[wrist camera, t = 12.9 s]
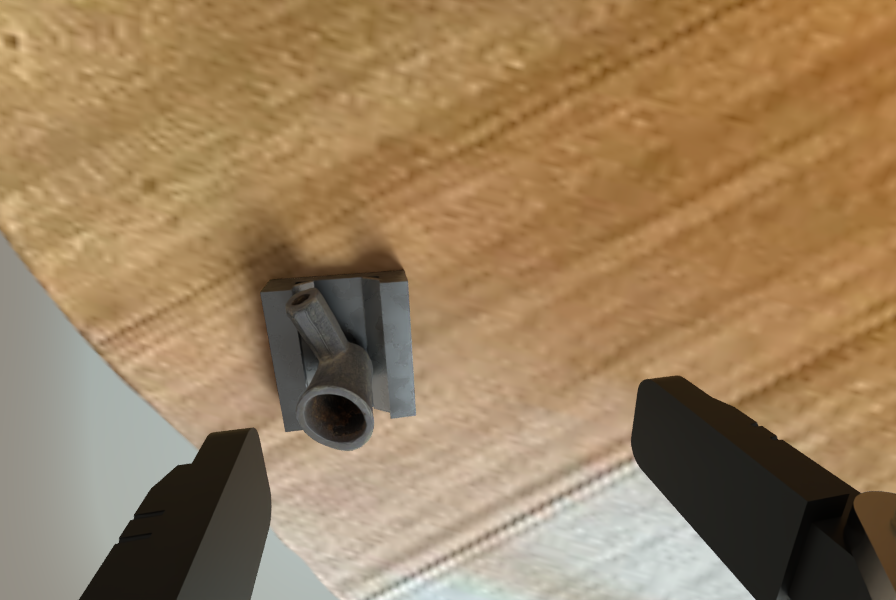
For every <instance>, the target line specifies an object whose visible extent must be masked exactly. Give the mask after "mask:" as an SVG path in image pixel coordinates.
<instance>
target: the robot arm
mask: <svg viewBox="0 0 896 600" xmlns="http://www.w3.org/2000/svg"><path fill="white" fill-rule="evenodd" d="M631 446H632V451H633V455H634V457H635V460H636V462H637V464H638V465H639V467H640V468H641V470H642V471H643V472H644V473H645V474H646V475H647V476H648V478H649V479H650V480H651V481H652V482H653V483H654V484H655V486H656V487H657V488H658V489H659V490H660V491H661V492H662V493H663V495H664V496H665V497H666V498H667V499H668V500H669V501H670V503H671V504H672V505H673V506H674V507H675V508H676V509H677V511H678V512H679V513H680V514H681V515H682V516H683V517H684V518H685V520H686V521H687V522H688V523H689V524H690V525H691V526H692V528H693V529H694V530H695V531H696V532H697V533H698V534H699V536H700V537H701V538H702V539H703V540H704V541H705V542H706V544H707V545H708V546H709V547H710V548H711V549H712V550H713V551H714V553H715V554H716V555H717V556H718V557H719V558H720V559H721V561H722V562H723V563H724V564H725V565H726V566H727V567H728V569H729V570H730V571H731V572H732V573H733V574H734V575H735V577H736V578H737V579H738V580H739V581H740V582H741V583H742V584H743V586H744V587H745V588H746V589H747V590H748V591H749V592H750V594H751V595H752V596H753V597H754V598H755V599H756V600H896V494H895V493H890V492H882V491H869V492H864V493H860V492H858V491H857V490H855V489H854V488H853V487H851V486H850V485H848V484H847V483H845V482H844V481H842V480H841V479H839V478H838V477H836V476H835V475H833V474H832V473H831V472H829V471H828V470H826V469H825V468H823V467H822V466H820V465H819V464H817V463H816V462H814V461H813V460H811V459H810V458H808V457H807V456H806V455H804V454H803V453H801V452H800V451H798V450H797V449H795V448H794V447H792V446H791V445H789V444H788V443H786V442H785V441H783V440H778V439H777V436H776V435H775V434H773V433H772V432H770V431H769V430H767V429H766V428H764V427H763V426H758V424H757V422H756V421H754V420H753V419H751V418H750V417H748V416H747V415H745V414H744V413H742V412H741V411H739V410H738V409H736V408H735V407H733V406H731V405H728V404H726V403H724V402H721V401H719V400H717V399H715V398H712V397H711V396H709V395H708V394H706V393H705V392H704V391H702V390H701V389H699V388H698V387H696V386H695V385H693V384H692V383H691V382H689V381H688V380H686V379H685V378H683V377H681V376H669V377H661V378H653V379H646V380H643V381H642V382H641V383H640V385H639V387H638V392H637V399H636V407H635V414H634V421H633V429H632V436H631ZM270 520H271V492H270V487H269V482H268V477H267V472H266V467H265V463H264V458H263V453H262V448H261V443H260V438H259V435H258V432H257V430H256V429H255V428H245V429H237V430H229V431H221V432H213V433H210V434H209V435H208V436H207V438H206V439H205V441H204V443H203V445H202V446H201V448H200V450H199V452H198V453H197V455H196V457H195V459H194V461H193V462H192V464H184V465H178V466H176V467H175V468H174V469H173V470H172V471H171V472H170V473H168V474H167V475H166V476H165V477H164V478H163V479H162V480H161V481H160V482H158V483H157V484H156V485H155V486H153V487H152V488H151V490H150V491H149V492H148V494H147V496H146V497H145V499H144V500H143V502H142V503H141V505H140V506H139V508H138V510H137V511H136V513H135V514H134V520H130V522H129V523H128V525H127V526H126V528H125V529H124V531H123V533H122V534H121V536H120V537H119V543H118V544H115V545H114V546H113V548H112V549H111V551H110V553H109V554H108V556H107V557H106V559H105V560H104V562H103V563H102V565H101V567H100V568H99V570H98V571H97V573H96V574H95V576H94V577H93V579H92V581H91V582H90V584H89V585H88V587H87V588H86V590H85V591H84V593H83V594H82V596H81V597H80V599H79V600H250V599H251V595H252V592H253V588H254V584H255V580H256V576H257V573H258V568H259V565H260V561H261V557H262V553H263V550H264V545H265V541H266V538H267V534H268V530H269V526H270Z"/></svg>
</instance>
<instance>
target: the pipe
mask: <svg viewBox="0 0 896 600" xmlns="http://www.w3.org/2000/svg"><path fill="white" fill-rule="evenodd" d="M286 313H287V315H288V317H289V318H290V320H291V321H292V322H293V324H294V326H295V327H296V329H297V330H298V332H299V333H300V335H301V336H302V338H303V339H304V340H305V342H306V343H307V344H308V346H309V347H310V348H311V350H312V352H313V353H314V354H315V356H316V357H317V359H318V360H319V365H318V368H317V370H316V372H315V374H314V376H313V378H312V380H311V382H310V384H309V386H308V388H307V390H306V391H305V392H304V394H303V395H302V396H301V397H300V399H299V401H298V403H297V406H296V417H297V420H298V422H299V424H300V426H301V427H302V429H303V430H304V432H305V433H306V434H307V435H308V436H310V437H311V438H312V439H314V440H315V441H317V442H318V443H321V444H323V445H325V446H328V447H331V448H334V449H337V450H344V451H353V450H355V449H358V448H360V447H362V446H363V445H364V444H365V443H366V442H367V441H368V440H369V439H370V437H371V435H372V432H373V428H374V417H373V409H372V379H373V366H372V362H371V359H370V357H369V355H368V353H367V352H366V351H365V349H363V348H362V347H361V346H359V345H356V344H353V343H350V342H348V341H347V339H346V337H345V335H344V333H343V331H342V329H341V327H340V325H339V323H338V321H337V320H336V318H335V316H334V314H333V313H332V311H331V309H330V308H329V306H328V304H327V303H326V301H325V299H324V297H323V296H322V294H321V293H320V292H319V290H318V289H317V288H309V289H306V290H303V291H300V292H299V293H297V294H295V295H293V296H292V297H291V298H290V299H289V300H288V302H287V303H286Z"/></svg>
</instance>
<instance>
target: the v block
mask: <svg viewBox="0 0 896 600" xmlns="http://www.w3.org/2000/svg"><path fill="white" fill-rule="evenodd" d="M309 288H317V289H318V290H319V292H320V293H321V294H322V296H323V297H324V299H325V301H326V303H327V304H328V306H329V308H330V309H331V311H332V313H333V314H334V316H335V318H336V320H337V321H338V323H339V325H340V327H341V329H342V331H343V333H344V335H345V337H346V339H347V341H348V342H350V343H353V344H356V345H359V346H361V347H362V348H363V349H365V351H366V352H367V353H368V355H369V357H370V359H371V362H372V366H373V379H372V407H374V409H378V410H382V411H386V412H389V413H390V415H391V419H392V418H400V417H407V416H415V415H416V408H415V391H414V374H413V358H412V341H411V324H410V308H409V291H408V280H407V277H406V274H405V271H404V270H397V271H384V272H370V273H356V274H342V275H328V276H314V277H300V278H286V279H273V280H270V281H269V282H268V283H267V285H266V286H265V287H264V288H263V290H262V291H261V292H260V294H261V299H262V305H263V310H264V316H265V322H266V327H267V333H268V338H269V344H270V349H271V355H272V360H273V366H274V371H275V377H276V383H277V388H278V394H279V399H280V405H281V410H282V416H283V421H284V427H285V432H290V431H298V430H303V429H302V427H301V426H300V424H299V422H298V420H297V417H296V406H297V403H298V401H299V399H300V397H301V396H302V395H303V394H304V392H305V391H306V390H307V388H308V386H309V384H310V382H311V380H312V378H313V376H314V374H315V372H316V370H317V368H318V365H319V360H318V359H317V357H316V356H315V354H314V353H313V352H312V350H311V348H310V347H309V346H308V344H307V343H306V342H305V340H304V339H303V338H302V336H301V335H300V333H299V332H298V330H297V329H296V327H295V326H294V324H293V322H292V321H291V320H290V318H289V317H288V315H287V313H286V303H287V302H288V300H289V299H290V298H291V297H292V296H293V295H295V294H297V293H299V292H300V291H303V290H306V289H309Z"/></svg>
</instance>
